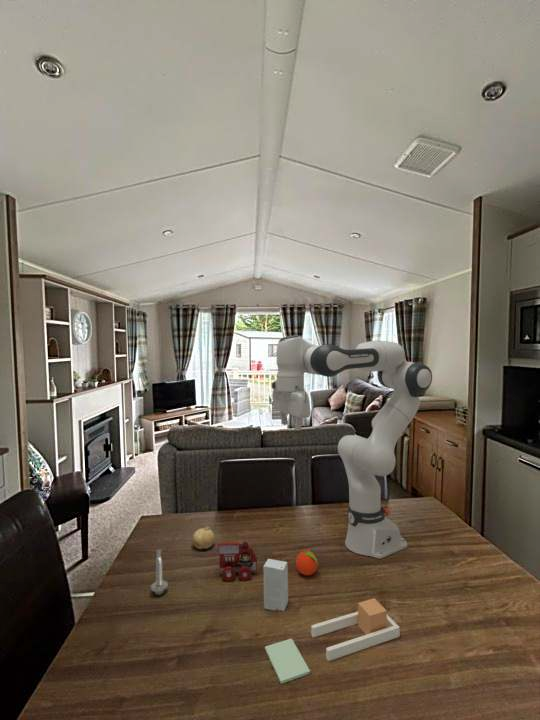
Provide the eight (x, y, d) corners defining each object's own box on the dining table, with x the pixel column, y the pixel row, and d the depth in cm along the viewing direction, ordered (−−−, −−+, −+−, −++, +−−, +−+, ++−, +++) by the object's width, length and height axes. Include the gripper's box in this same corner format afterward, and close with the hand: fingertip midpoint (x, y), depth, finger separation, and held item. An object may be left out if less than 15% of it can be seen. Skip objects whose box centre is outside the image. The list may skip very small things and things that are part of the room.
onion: (207, 554, 131) (207, 534, 131) (188, 550, 134) (187, 530, 134) (218, 543, 139) (218, 524, 139) (199, 539, 141) (199, 521, 141)
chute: (378, 616, 100) (378, 605, 100) (399, 639, 92) (399, 627, 92) (311, 637, 93) (311, 625, 93) (328, 664, 85) (328, 651, 85)
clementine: (324, 574, 119) (324, 552, 119) (311, 584, 114) (311, 561, 114) (304, 564, 124) (304, 543, 124) (291, 573, 119) (291, 552, 119)
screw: (148, 592, 111) (162, 585, 114) (155, 600, 107) (171, 592, 111) (147, 549, 110) (162, 543, 114) (155, 555, 107) (170, 549, 110)
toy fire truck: (257, 580, 116) (257, 547, 116) (217, 582, 115) (216, 549, 115) (257, 567, 123) (256, 536, 123) (219, 569, 122) (218, 537, 122)
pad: (302, 637, 93) (302, 634, 93) (322, 669, 84) (322, 666, 84) (264, 649, 89) (264, 646, 89) (280, 683, 80) (280, 681, 80)
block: (374, 620, 98) (374, 598, 97) (386, 634, 93) (386, 610, 93) (358, 625, 96) (358, 602, 96) (369, 639, 91) (369, 615, 91)
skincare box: (288, 603, 105) (288, 561, 105) (284, 613, 101) (283, 570, 101) (268, 598, 107) (267, 557, 107) (263, 608, 103) (262, 566, 103)
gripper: (315, 387, 114) (315, 432, 114) (285, 382, 133) (286, 421, 133) (296, 388, 111) (297, 434, 112) (269, 383, 130) (269, 422, 130)
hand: (290, 427), depth 122 cm, fingers open, 8 cm apart
